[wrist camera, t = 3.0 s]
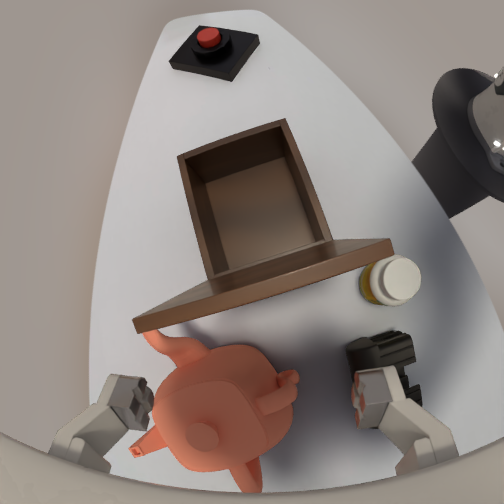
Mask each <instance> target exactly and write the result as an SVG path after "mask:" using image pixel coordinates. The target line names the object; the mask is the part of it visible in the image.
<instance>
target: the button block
mask: <svg viewBox="0 0 504 504" xmlns="http://www.w3.org/2000/svg"><path fill="white" fill-rule="evenodd" d="M206 28H216V27H208V26H198V27H197V29H196V30H195V31H194V32H193V33H192V34H191V35H190V36H189V38H188V39H187V40H186V41H185V42H184V43H183V45H182V46H181V47H180V48H179V49H178V50H177V52H176V53H175V54H174V55H173V57H172V58H171V59H170V60H169V63H170V64H171V66H172V68H173V69H177V70H183V71H188V72H193V73H197V74H202V75H207V76H211V77H215V78H219V79H223V80H227V81H231V82H232V80H233V79H234V78H235V76H236V75H237V73H238V72H239V71H240V69H241V68H242V66H243V65H244V64H245V62H246V61H247V60H248V58H249V57H250V55H251V54H252V53H253V51H254V50H255V49H256V47H257V46H258V45H259V44H260V42H259V37H258V35H257V34H252V33H247V32H241V31H236V30H229V29H223V28H216V29H218V31H219V33H220V36H221V41H220V42H219V43H218V44H217V45H215V46H213V47H209V48H204V47H202V46H200V44H199V41H198V39H197V35H198V33H199V32H200V31H202V30H204V29H206Z"/></svg>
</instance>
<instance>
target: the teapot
mask: <svg viewBox="0 0 504 504" xmlns="http://www.w3.org/2000/svg"><path fill="white" fill-rule="evenodd" d="M143 335H144V337H145V339H146V340H147V342H148V343H149V344H150V345H151V346H152V347H153V348H154V349H155V350H157V351H158V352H160V353H162V354H164V355H167V356H169V357H170V358H171V359H172V360H173V362H174V363H175V364H176V366H177V368H176V369H175V370H174V371H173V372H172V373H171V374H169V375H168V376H167V378H166V379H165V380H164V381H163V382H162V383H161V385H160V386H159V388H158V390H157V392H156V394H155V398H154V406H153V410H152V416H153V420H154V422H155V425H154V426H153V427H152V428H151V429H150V430H149V431H148V432H147V433H145V434H144V435H143V436H142V437H141V438H140V439H139V440H138V441H136V442H135V443H134V444H133V445H132V446H131V447H129V448H128V449H129V450H130V452H131V453H132V455H133V456H134V458H136V457H140V456H144V455H145V454H148V453H151V452H154V451H156V450H159V449H162V448H164V447H167V446H168V448H169V449H170V451H171V452H172V454H173V455H174V456H175V458H176V459H177V460H178V461H179V462H180V463H181V465H183V466H184V467H185V468H187V469H189V470H191V471H196V472H212V471H220V470H225V469H229V470H230V472H231V474H232V476H233V478H234V480H235V482H236V483H237V485H238V487H239V488H240V490H241V491H242V492H243V493H261V492H262V487H263V483H262V473H261V467H260V461H259V456H260V455H262V454H263V453H265V452H267V451H268V450H270V449H271V448H272V447H274V446H275V445H276V444H277V443H279V442H280V441H281V440H282V439H283V437H284V436H285V435H286V434H287V432H288V430H289V428H290V426H291V424H292V420H293V407H292V404H291V403H292V402H293V401H294V400H295V399H296V398H297V395H298V392H297V388H296V386H295V385H296V384H297V383H299V380H300V377H299V374H298V373H297V371H295V370H293V369H291V370H286V371H283V372H281V373H279V374H277V372H276V371H275V369H274V368H273V366H272V365H271V363H270V362H269V361H268V359H267V358H266V357H265V356H264V354H263V353H261V352H260V351H259V350H258V349H256V348H254V347H252V346H249V345H229V346H222V347H218V348H214V349H208V348H207V347H206V346H205V345H204V344H202V343H201V342H200V341H198V340H196V339H194V338H189V337H168V336H165V335H163V334H162V333H160V332H159V331H158V330H157V329H156V330H152V331H148V332H144V333H143Z"/></svg>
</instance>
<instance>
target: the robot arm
mask: <svg viewBox="0 0 504 504" xmlns="http://www.w3.org/2000/svg"><path fill="white" fill-rule="evenodd" d="M495 77H496V79H495V82H494V83H493V84H492V85H490V86H489V87H488V88H487V89H486V90H484V91H483V92H482V93H480V94H478V95H476V96H474V97H473V98H472V99H471V100H470V101H469V103H468V108H467V114H468V119H469V123H470V126H471V128H472V130H473V133H474V134H475V136H476V138H477V140H478V141H479V143H480V144H481V145H482V147H483V149H484V150H485V152H486V155H487V158H488V161H489V164H490V166H491V167H492V169H493V170H495V171H497V172H499V173H501V174H503V175H504V67H503V68H502V69H501V70H500V72H499V73H498V74H496V75H495ZM501 166H502V167H501ZM354 380H355V382H354V383H353V384H352V389H351V398H352V404H353V407H354V408H356V413H355V420H356V425H357V429H364V428H371V427H377V426H379V427H378V428H379V429H380V430H381V431H382V432H383V433H384V434H385V435H386V436H387V437H388V438H389V439H390V440H391V441H392V442H393V443H394V444H395V446H396V447H397V448H398V449H399V450H400V451H401V452H402V453H403V454H404V457H403V458H402V459H401V460H400V462H399V463H398V464H397V465H396V467H395V469H396V474H397V476H394V477H390V478H385V479H381V480H376V481H371V482H366V483H361V484H355V485H349V486H343V487H335V488H328V489H319V490H308V491H295V492H273V493H242V492H220V491H206V490H196V489H187V488H179V487H172V486H165V485H159V484H154V483H148V482H143V481H138V480H133V479H129V478H125V477H120V476H116V475H112V474H109V473H110V469H111V465H110V463H109V462H108V461H107V460H105V459H104V458H103V456H104V455H105V454H106V453H107V452H108V451H109V450H110V449H111V448H112V447H113V446H114V445H115V444H116V443H117V442H118V441H119V440H120V439H121V438H122V437H123V436H124V435H125V433H126V432H127V431H128V429H131V430H139V431H147V427H148V424H149V420H150V418H149V415H148V413H149V412H150V411H152V410H153V406H154V395H153V392H152V390H151V389H150V388H149V387H147V386H146V385H147V381H146V380H145V378H144V377H134V376H125V375H117V374H110V375H109V376H108V378H107V380H106V382H105V385H104V387H103V389H102V392H101V394H100V396H99V399H98V401H97V403H93V404H92V405H91V406H89V407H88V408H87V409H85V410H84V411H83V412H82V413H80V414H79V415H78V416H76V417H75V418H74V419H73V420H71V421H70V422H68V423H67V424H66V425H65V426H63V427H62V428H61V429H59V430H58V431H57V433H56V436H55V438H54V440H53V443H52V445H51V448H50V450H49V453H45V452H43V451H40V450H37V449H35V448H33V447H30V446H28V445H26V444H24V443H22V442H20V441H17V440H15V439H13V438H11V437H9V436H7V435H5V434H3V433H1V432H0V504H504V437H502V438H500V439H498V440H496V441H494V442H492V443H490V444H487V445H485V446H483V447H481V448H478V449H476V450H474V451H471V452H469V453H466V454H464V455H461V456H459V454H458V451H457V448H456V445H455V442H454V439H453V436H452V433H451V430H450V429H449V428H448V427H447V426H445V425H444V424H443V423H442V422H440V421H439V420H438V419H436V418H435V417H434V416H432V415H431V414H430V413H428V412H427V411H426V410H425V409H423V408H422V407H421V406H419V405H418V404H417V403H416V402H414V401H413V400H412V399H410V398H407V399H406V396H405V393H404V390H403V388H402V385H401V382H400V379H399V376H398V373H397V371H396V368H395V367H394V366H387V367H381V368H380V367H379V368H373V369H367V370H360V371H356V372H355V375H354Z"/></svg>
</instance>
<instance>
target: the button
mask: <svg viewBox="0 0 504 504" xmlns="http://www.w3.org/2000/svg"><path fill="white" fill-rule="evenodd" d="M197 39H198V41H199V44H200V46H202V47H204V48H209V47H213V46H215V45H217V44H218V43H219V42H220V41H221V36H220V33H219V31H218V29H216V28H206V29H204V30H202V31H200V32H199V33H198V35H197Z"/></svg>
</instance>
